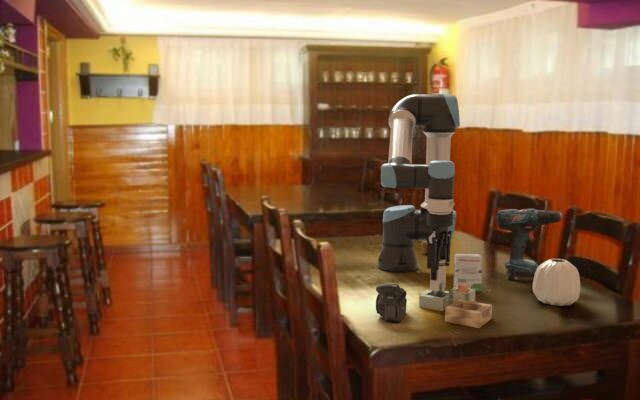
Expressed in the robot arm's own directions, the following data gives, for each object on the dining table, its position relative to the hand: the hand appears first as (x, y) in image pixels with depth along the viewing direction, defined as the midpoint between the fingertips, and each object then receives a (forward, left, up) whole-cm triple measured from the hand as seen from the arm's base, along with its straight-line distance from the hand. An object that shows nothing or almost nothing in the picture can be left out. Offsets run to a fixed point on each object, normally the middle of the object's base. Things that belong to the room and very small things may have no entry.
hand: (437, 288), depth 194 cm
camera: (-6, -18, -6) cm, 20 cm away
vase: (+29, +24, -6) cm, 38 cm away
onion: (-32, +66, -6) cm, 73 cm away
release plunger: (+8, 0, -3) cm, 9 cm away
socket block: (+3, 0, -5) cm, 6 cm away
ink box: (+1, +22, -6) cm, 23 cm away
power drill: (+13, +49, -5) cm, 51 cm away
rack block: (+13, -8, -5) cm, 16 cm away
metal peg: (0, 0, -5) cm, 5 cm away
